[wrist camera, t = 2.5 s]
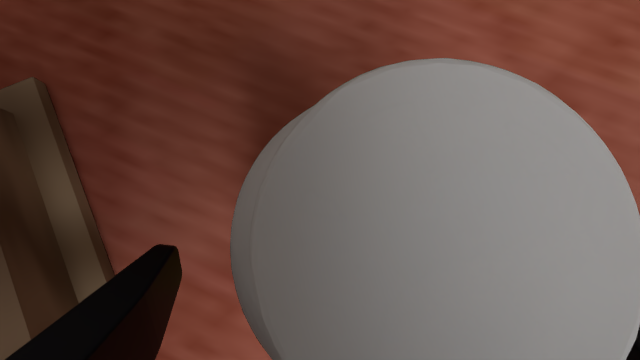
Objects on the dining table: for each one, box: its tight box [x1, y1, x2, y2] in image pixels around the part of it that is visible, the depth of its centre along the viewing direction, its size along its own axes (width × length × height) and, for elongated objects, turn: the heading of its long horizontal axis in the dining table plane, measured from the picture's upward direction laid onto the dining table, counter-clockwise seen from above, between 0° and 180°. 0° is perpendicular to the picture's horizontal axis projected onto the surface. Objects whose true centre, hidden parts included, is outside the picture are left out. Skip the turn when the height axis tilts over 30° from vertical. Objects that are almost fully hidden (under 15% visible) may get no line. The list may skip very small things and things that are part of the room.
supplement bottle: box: [230, 58, 640, 360], centre depth 11 cm, size 7×7×13 cm
